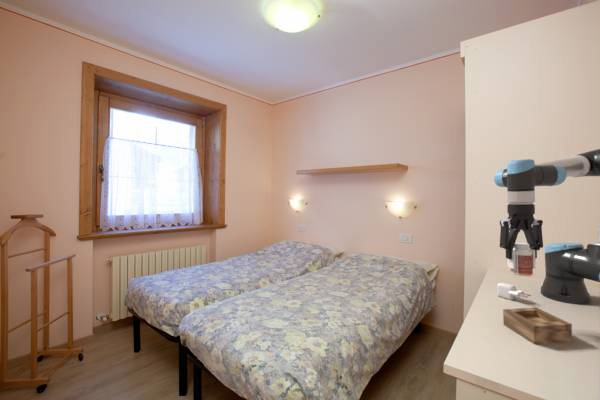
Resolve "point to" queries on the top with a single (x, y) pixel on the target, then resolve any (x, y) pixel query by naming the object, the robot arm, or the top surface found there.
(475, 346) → the top surface
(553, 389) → the top surface
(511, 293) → the power adapter
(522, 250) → the pill bottle
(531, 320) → the wooden box
